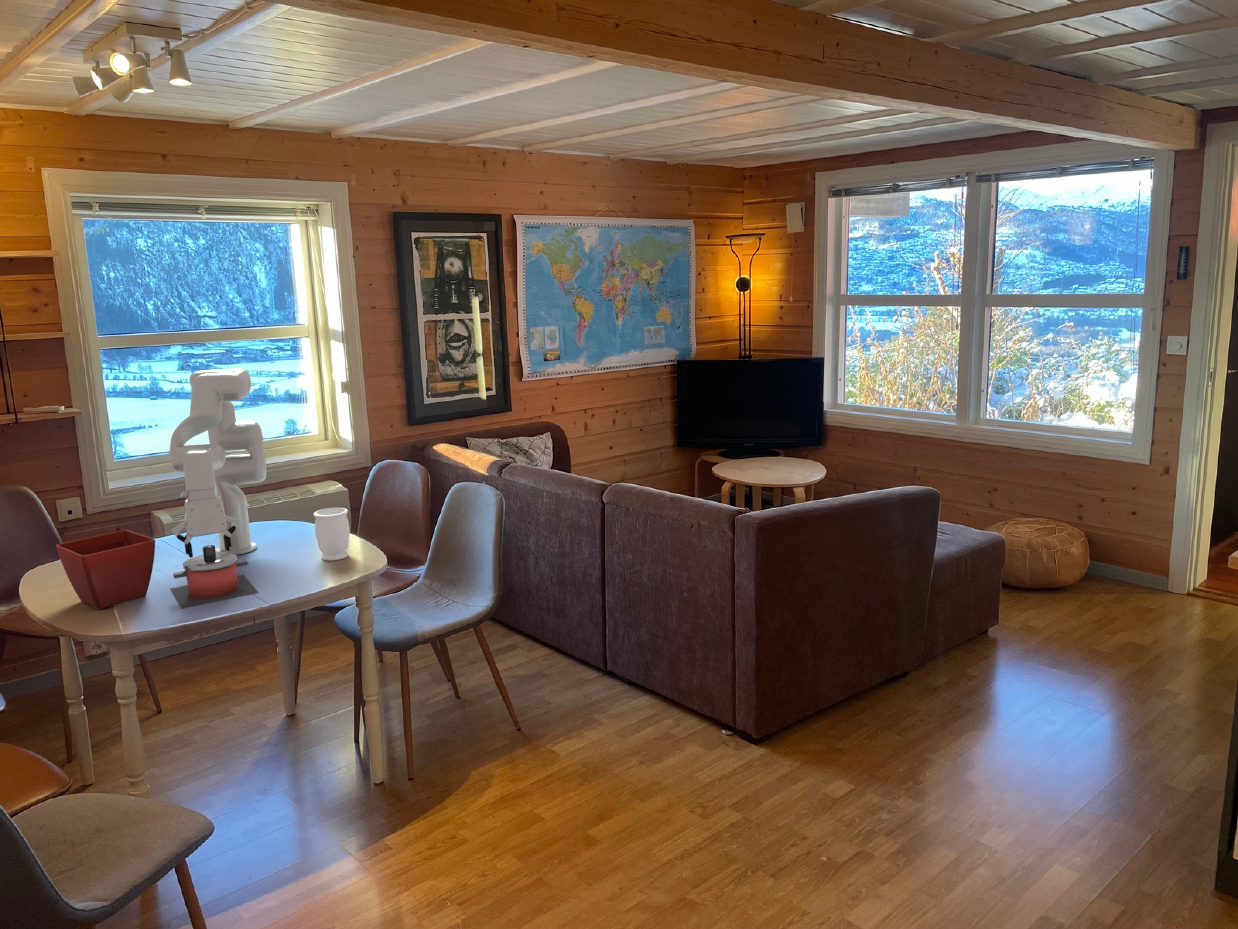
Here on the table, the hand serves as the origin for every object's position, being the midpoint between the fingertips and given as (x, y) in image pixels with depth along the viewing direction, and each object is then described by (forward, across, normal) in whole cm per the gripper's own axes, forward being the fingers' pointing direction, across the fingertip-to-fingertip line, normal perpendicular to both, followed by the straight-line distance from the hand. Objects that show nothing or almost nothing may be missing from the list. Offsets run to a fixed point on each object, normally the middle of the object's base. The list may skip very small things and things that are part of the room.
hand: (209, 553), depth 254 cm
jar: (+12, +38, +12) cm, 42 cm away
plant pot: (+12, -24, +12) cm, 29 cm away
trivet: (+12, 0, 0) cm, 12 cm away
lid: (+3, 0, 0) cm, 3 cm away
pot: (+11, 0, 0) cm, 11 cm away
